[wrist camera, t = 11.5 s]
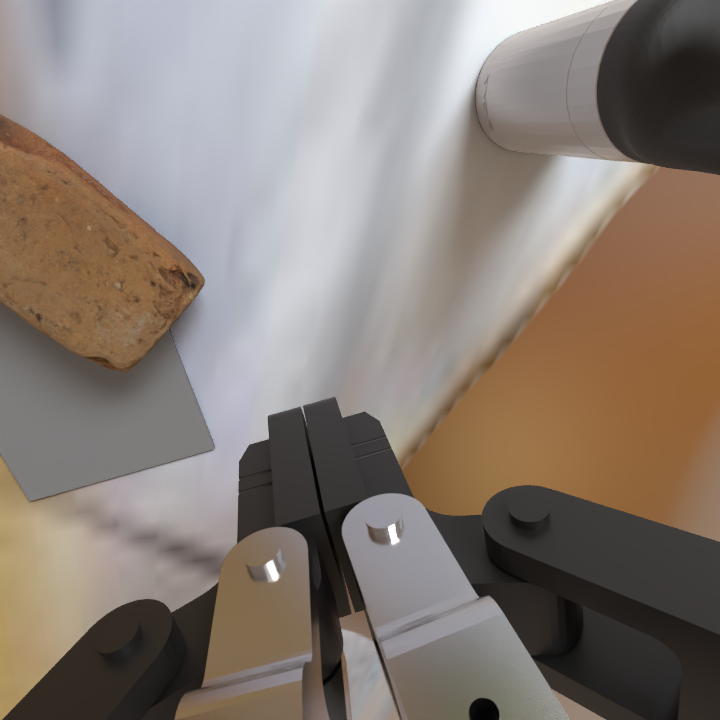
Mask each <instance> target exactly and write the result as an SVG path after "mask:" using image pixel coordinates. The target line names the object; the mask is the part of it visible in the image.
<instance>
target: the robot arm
mask: <svg viewBox="0 0 720 720" xmlns="http://www.w3.org/2000/svg"><path fill="white" fill-rule="evenodd" d="M476 109H477V114H478V118H479V121H480V123H481V126H482V128H483V130H484V131H485V132H486V134H487V135H488V137H489V138H490V139H491V140H492V141H493V142H495V143H496V144H497V145H499V146H501V147H503V148H504V149H507V150H511V151H516V152H526V153H536V154H546V155H557V156H568V157H579V158H590V159H602V160H613V161H626V162H637V163H647V164H653V165H657V166H661V167H666V168H673V169H681V170H690V171H699V172H705V173H712V174H717V175H720V0H613V1H610V2H607V3H604V4H601V5H598V6H595V7H593V8H590V9H587V10H584V11H581V12H578V13H575V14H572V15H569V16H566V17H563V18H560V19H557V20H554V21H551V22H549V23H546V24H542V25H539V26H536V27H533V28H530V29H528V30H525V31H522V32H519V33H517V34H514V35H512V36H510V37H508V38H507V39H505V40H504V41H503V42H501V43H500V44H499V45H498V46H497V47H496V48H495V49H494V50H493V51H492V53H491V54H490V55H489V56H488V58H487V60H486V62H485V63H484V65H483V67H482V70H481V72H480V75H479V78H478V82H477V88H476ZM303 408H304V413H305V418H306V422H305V418H304V415H303V412H302V409H301V407H298V408H294V409H291V410H287V411H283V412H280V413H276V414H273V415H269V416H268V428H269V439H268V440H265V441H261V442H257V443H254V444H250V445H249V446H248V448H247V450H246V451H245V453H244V455H243V456H242V458H241V460H240V461H239V480H240V481H239V495H238V537H237V544H236V545H235V546H234V547H233V548H232V550H231V551H230V552H229V553H228V555H227V556H226V558H225V559H224V562H223V564H222V567H221V571H220V577H219V582H218V583H217V584H216V585H215V586H214V587H212V588H211V589H210V590H209V591H207V592H206V593H204V594H203V595H201V596H200V597H198V598H196V599H194V600H193V601H191V602H189V603H188V604H186V605H184V606H182V607H181V608H179V609H177V610H176V611H174V612H172V613H171V612H170V610H169V609H168V607H167V606H166V605H165V604H164V603H162V602H160V601H157V600H153V599H143V600H137V601H133V602H130V603H127V604H125V605H122V606H120V607H118V608H116V609H114V610H113V611H111V612H110V613H108V614H107V615H105V616H104V617H103V618H101V619H100V620H99V621H98V622H97V623H96V624H94V625H93V626H92V627H91V628H90V629H89V630H88V631H87V632H86V633H85V635H84V636H83V637H82V638H81V639H80V640H79V641H78V642H77V643H76V644H75V645H74V646H73V647H72V648H71V649H70V650H69V651H68V652H67V653H66V654H65V655H64V656H63V657H62V658H61V659H60V660H59V661H58V663H57V664H56V665H55V666H54V667H53V668H52V669H51V670H50V671H49V672H48V673H47V674H46V675H45V676H44V677H43V678H42V679H41V680H40V681H39V682H38V683H37V684H36V685H35V686H34V687H33V688H32V689H31V690H30V692H29V693H28V694H27V695H26V696H25V697H24V698H23V699H22V700H21V701H20V702H19V703H18V704H17V705H16V706H15V707H14V708H13V709H12V710H11V711H10V712H9V713H8V714H7V715H6V716H5V717H4V718H3V720H352V713H351V703H350V694H349V684H348V674H347V664H346V659H345V655H344V652H343V637H342V632H341V626H340V622H339V618H340V617H343V616H347V615H350V614H351V609H350V604H349V600H348V595H347V590H346V586H345V581H346V584H347V587H348V590H349V594H350V597H351V600H352V604H353V607H354V610H355V612H358V611H362V610H364V611H365V615H366V618H367V622H368V625H369V628H370V631H371V635H372V639H373V642H374V645H375V649H376V652H377V655H378V658H379V661H380V664H381V667H382V670H383V673H384V676H385V679H386V682H387V685H388V688H389V691H390V694H391V697H392V700H393V703H394V706H395V709H396V712H397V715H398V718H399V720H570V718H569V716H568V715H567V713H566V712H565V710H564V709H563V707H562V705H561V704H560V702H559V700H558V699H557V697H556V696H555V694H554V693H553V691H552V689H553V690H555V691H557V692H558V693H560V694H562V695H564V696H566V697H567V698H569V699H571V700H573V701H574V702H576V703H578V704H580V705H581V706H583V707H585V708H587V709H589V710H590V711H592V712H594V713H596V714H597V715H599V716H601V717H603V718H605V719H606V720H720V542H718V541H715V540H712V539H708V538H705V537H702V536H699V535H695V534H692V533H689V532H686V531H683V530H679V529H677V528H673V527H670V526H667V525H664V524H661V523H657V522H654V521H651V520H648V519H645V518H642V517H638V516H635V515H632V514H629V513H626V512H622V511H619V510H616V509H613V508H610V507H606V506H603V505H600V504H597V503H593V502H590V501H587V500H584V499H581V498H577V497H574V496H571V495H568V494H565V493H562V492H559V491H555V490H552V489H549V488H545V487H541V486H531V485H525V486H516V487H511V488H508V489H505V490H503V491H501V492H499V493H497V494H496V495H494V496H493V497H492V498H491V499H490V500H489V501H488V502H487V503H486V505H485V507H484V509H483V512H482V515H469V516H449V515H443V514H439V513H435V512H433V511H430V510H428V509H426V508H424V506H423V505H422V504H421V503H420V502H419V501H418V500H416V499H415V498H414V496H413V495H412V493H411V490H410V488H409V486H408V484H407V482H406V479H405V477H404V475H403V473H402V470H401V468H400V466H399V464H398V461H397V459H396V457H395V455H394V453H393V450H392V449H391V446H390V444H389V441H388V439H387V438H386V435H385V433H384V430H383V428H382V426H381V424H380V421H378V420H377V419H375V418H374V417H372V416H370V415H369V414H367V413H366V412H362V413H359V414H355V415H352V416H348V417H345V418H342V416H341V413H340V410H339V407H338V404H337V401H336V398H335V397H333V398H329V399H326V400H322V401H319V402H315V403H312V404H308V405H304V406H303ZM306 423H307V425H306ZM342 571H343V572H342ZM343 574H344V576H343ZM344 577H345V581H344Z"/></svg>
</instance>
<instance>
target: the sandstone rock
mask: <svg viewBox="0 0 720 720" xmlns="http://www.w3.org/2000/svg"><path fill="white" fill-rule="evenodd" d="M204 282H205V280H204V277H203V276H202V274H201V273H200V272H199V270H198V269H197V268H196V267H195V266H194V265H193V263H192V262H191V261H190V260H189V259H188V258H187V257H186V256H185V255H184V254H183V253H182V252H181V251H180V250H178V249H177V248H176V247H175V246H174V245H173V244H172V243H170V242H169V241H168V240H167V239H165V238H164V237H163V236H162V235H160V234H159V233H158V232H156V231H155V229H154V228H152V227H151V226H150V225H149V224H148V223H147V222H145V221H144V220H143V219H142V218H140V217H139V216H138V215H137V214H136V213H134V212H133V211H132V210H131V209H130V208H128V207H127V206H126V205H125V204H124V203H123V202H122V201H120V200H119V199H118V198H117V197H115V196H114V195H113V194H112V193H111V192H110V191H109V190H107V189H106V188H105V187H104V186H103V185H102V184H100V183H99V182H98V181H97V180H95V179H94V178H93V177H92V176H91V175H90V174H88V173H87V172H86V171H84V170H83V169H82V168H81V167H80V166H79V165H78V164H77V163H75V162H74V161H73V160H71V159H70V158H69V157H67V156H66V155H65V154H64V153H62V152H61V151H59V150H58V149H56V148H55V147H53V146H52V145H51V144H49V143H48V142H47V141H45V140H44V139H42V138H40V137H39V136H38V135H36V134H35V133H33V132H31V131H29V130H28V129H26V128H24V127H22V126H21V125H19V124H17V123H15V122H13V121H11V120H10V119H8V118H6V117H4V116H2V115H0V303H2V304H3V305H5V306H6V307H7V308H9V309H10V310H12V311H13V312H14V313H15V314H16V315H18V316H19V317H21V318H22V319H24V320H25V321H27V322H28V323H29V324H31V325H32V326H34V327H35V328H36V329H38V330H39V331H41V332H42V333H44V334H45V335H47V336H49V337H50V338H52V339H53V340H55V341H56V342H58V343H59V344H61V345H62V346H64V347H65V348H67V349H68V350H70V351H71V352H73V353H75V354H77V355H79V356H81V357H83V358H86V359H89V360H91V361H93V362H95V363H97V364H99V365H101V366H103V367H105V368H108V369H110V370H117V371H120V372H128V371H129V370H130V369H132V368H133V367H135V366H136V365H137V364H138V363H139V362H140V361H141V360H142V358H143V357H145V356H146V355H147V354H148V353H149V352H150V351H151V349H152V348H153V347H154V346H155V345H156V344H157V343H158V341H159V340H160V339H161V338H162V337H163V335H164V334H165V333H166V332H167V331H168V329H169V328H170V327H171V326H172V324H173V323H174V322H175V321H176V320H177V319H178V318H179V316H180V315H181V314H182V312H183V311H184V310H185V309H186V308H187V307H188V306H189V304H190V303H191V302H192V301H193V300H194V299H195V298H196V296H197V295H198V293H199V292H200V290H201V289H202V287H203V286H204Z"/></svg>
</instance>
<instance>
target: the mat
mask: <svg viewBox="0 0 720 720" xmlns="http://www.w3.org/2000/svg"><path fill="white" fill-rule="evenodd" d="M213 449H215V445H214V442H213V440H212V437H211V435H210V432H209V430H208V427H207V425H206V422H205V420H204V417H203V414H202V412H201V409H200V407H199V404H198V402H197V399H196V397H195V394H194V392H193V389H192V387H191V384H190V382H189V379H188V376H187V374H186V371H185V369H184V366H183V364H182V361H181V359H180V356H179V354H178V351H177V349H176V346H175V344H174V341H173V338H172V336H171V333H170V331H169V329H168V331H167V332H166V333H165V334H164V335H163V337H162V338H161V339H160V340H159V341H158V343H157V344H156V345H155V346H154V347H153V348H152V349H151V351H150V352H149V353H148V354H147V355H146V356H145V357H143V358H142V360H141V361H140V362H139V363H138V364H137V365H136V366H135V367H133V368H132V369H130V370H129V371H128V372H120V371H117V370H110V369H108V368H105V367H103V366H101V365H99V364H97V363H95V362H93V361H91V360H89V359H86V358H83V357H81V356H79V355H77V354H75V353H73V352H71V351H70V350H68V349H67V348H65V347H64V346H62V345H61V344H59V343H58V342H56V341H55V340H53V339H52V338H50V337H49V336H47V335H45V334H44V333H42V332H41V331H39V330H38V329H36V328H35V327H34V326H32V325H31V324H29V323H28V322H27V321H25V320H24V319H22V318H21V317H19V316H18V315H16V314H15V313H14V312H13V311H12V310H10V309H9V308H7V307H6V306H5V305H3V304H2V303H0V454H1V456H2V457H3V459H4V461H5V462H6V464H7V465H8V467H9V469H10V470H11V472H12V474H13V475H14V477H15V478H16V480H17V482H18V483H19V485H20V487H21V488H22V490H23V492H24V493H25V495H26V496H27V498H28V500H29V501H33V500H37V499H40V498H44V497H47V496H51V495H55V494H58V493H62V492H65V491H69V490H72V489H76V488H79V487H83V486H86V485H90V484H93V483H97V482H100V481H104V480H107V479H111V478H114V477H118V476H121V475H125V474H129V473H132V472H136V471H139V470H143V469H146V468H150V467H153V466H157V465H160V464H164V463H167V462H171V461H174V460H178V459H181V458H185V457H188V456H192V455H195V454H199V453H203V452H206V451H210V450H213Z"/></svg>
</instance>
